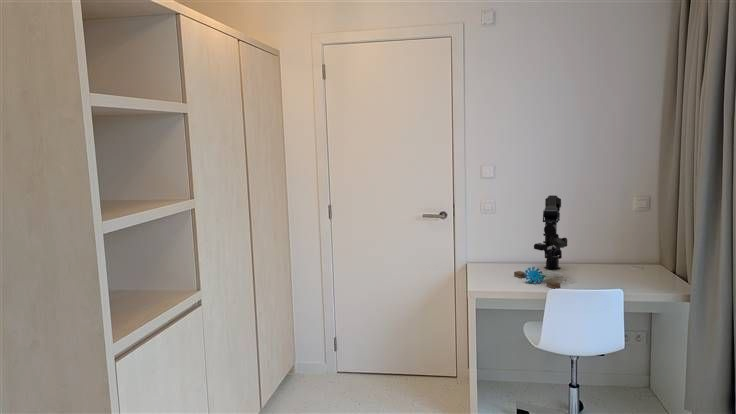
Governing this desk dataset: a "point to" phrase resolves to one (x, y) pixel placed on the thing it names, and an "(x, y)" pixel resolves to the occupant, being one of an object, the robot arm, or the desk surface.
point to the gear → (534, 275)
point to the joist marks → (549, 283)
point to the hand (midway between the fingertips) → (550, 261)
